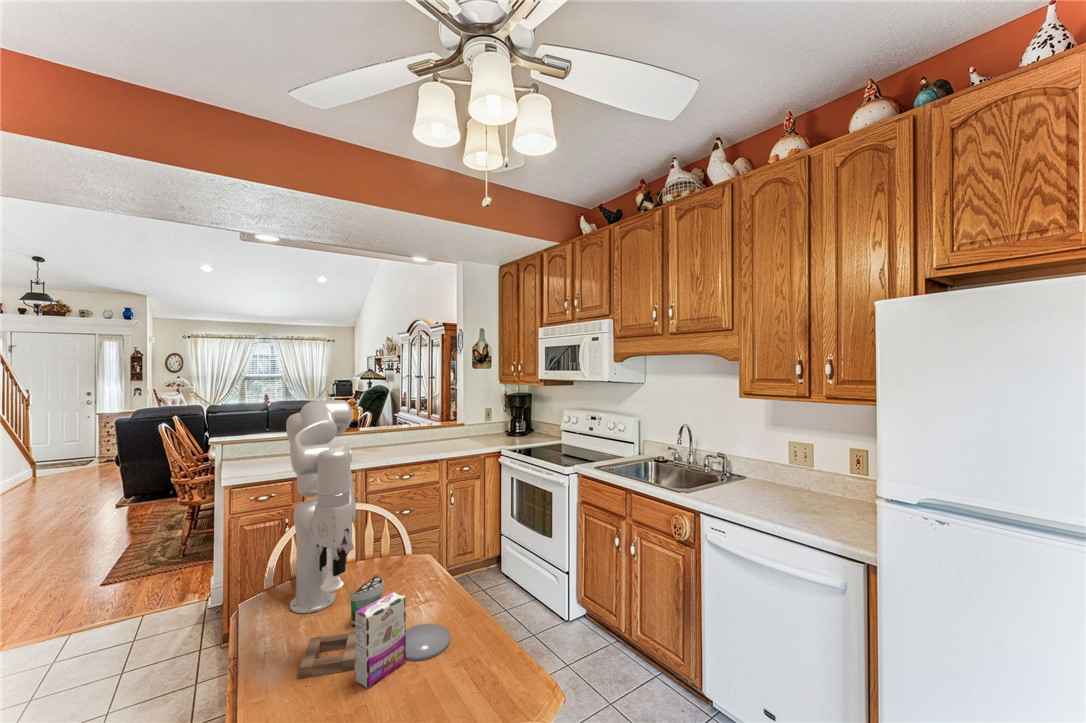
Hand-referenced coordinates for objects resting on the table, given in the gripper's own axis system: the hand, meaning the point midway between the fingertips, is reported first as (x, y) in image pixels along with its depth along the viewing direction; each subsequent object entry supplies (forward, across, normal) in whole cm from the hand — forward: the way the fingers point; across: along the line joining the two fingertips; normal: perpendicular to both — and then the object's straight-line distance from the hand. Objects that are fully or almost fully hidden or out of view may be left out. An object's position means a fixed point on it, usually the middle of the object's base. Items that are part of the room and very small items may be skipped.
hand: (332, 570), depth 112 cm
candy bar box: (+22, +15, +2) cm, 27 cm away
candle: (+4, 0, 0) cm, 4 cm away
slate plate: (+22, +16, +15) cm, 31 cm away
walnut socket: (+22, +1, 0) cm, 22 cm away
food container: (+22, -5, +17) cm, 28 cm away
